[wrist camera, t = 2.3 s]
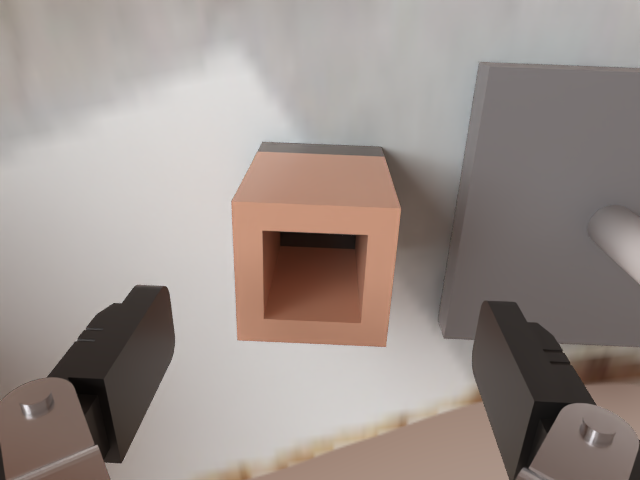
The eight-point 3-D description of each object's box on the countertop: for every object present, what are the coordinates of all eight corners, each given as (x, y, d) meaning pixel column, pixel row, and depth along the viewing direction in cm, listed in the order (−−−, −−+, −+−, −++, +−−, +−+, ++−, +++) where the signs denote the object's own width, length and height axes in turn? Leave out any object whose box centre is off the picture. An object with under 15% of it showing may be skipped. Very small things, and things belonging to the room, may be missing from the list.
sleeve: (264, 248, 23) (237, 340, 17) (262, 142, 21) (231, 201, 15) (372, 252, 23) (385, 346, 17) (381, 146, 21) (401, 208, 15)
